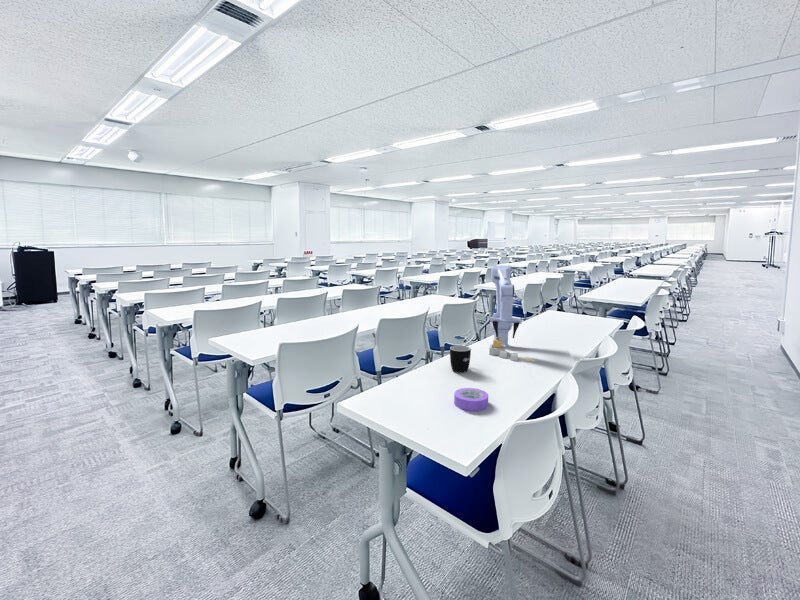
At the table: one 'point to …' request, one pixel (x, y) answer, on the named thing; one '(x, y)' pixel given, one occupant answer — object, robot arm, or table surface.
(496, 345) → the connector plug
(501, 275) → the robot arm
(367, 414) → the table surface
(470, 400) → the masking tape
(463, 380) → the table surface
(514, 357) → the cable board
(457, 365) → the mug
